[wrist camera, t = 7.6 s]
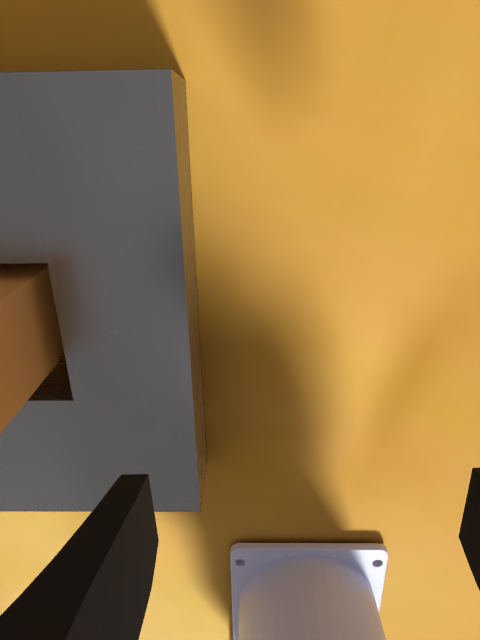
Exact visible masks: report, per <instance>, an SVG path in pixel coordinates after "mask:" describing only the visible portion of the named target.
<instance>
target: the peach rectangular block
mask: <svg viewBox="0 0 480 640" xmlns="http://www.w3.org/2000/svg"><path fill="white" fill-rule="evenodd" d="M64 355H65V354H64V348H63V343H62V338H61V333H60V327H59V322H58V317H57V312H56V306H55V301H54V296H53V291H52V285H51V280H50V275H49V269H48V264H47V263H19V264H0V434H1V432H2V431H3V430H4V429H5V427H6V426H7V425H8V424H9V423H10V421H11V420H12V419H13V418H14V416H15V415H16V414H17V413H18V412H19V410H20V409H21V408H22V407H23V405H24V404H25V403H26V402H27V400H28V399H29V398H30V397H31V396H32V394H33V393H34V392H35V391H36V389H37V388H38V387H39V386H40V384H41V383H42V382H43V381H44V380H45V378H46V377H47V376H48V375H49V373H50V372H51V371H52V370H53V368H54V367H55V366H56V365H57V364H58V362H59V361H60V360H61V359H62V357H63V356H64Z"/></svg>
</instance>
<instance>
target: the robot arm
mask: <svg viewBox="0 0 480 640" xmlns="http://www.w3.org/2000/svg"><path fill="white" fill-rule="evenodd" d="M459 538H460V541H461V544H462V547H463V549H464V552H465V555H466V558H467V560H468V563H469V566H470V568H471V571H472V573H473V576H474V578H475V581H476V583H477V586H478V588H479V590H480V468H473V469H472V474H471V479H470V484H469V489H468V494H467V499H466V504H465V508H464V513H463V518H462V523H461V528H460V533H459ZM157 547H158V534H157V528H156V521H155V514H154V507H153V501H152V494H151V487H150V481H149V474H122V475H121V476H120V477H119V478H118V479H117V480H116V481H115V483H114V484H113V485H112V486H111V488H110V489H109V490H108V492H107V493H106V494H105V496H104V497H103V498H102V500H101V501H100V502H99V503H98V505H97V506H96V507H95V509H94V510H93V511H92V512H91V514H90V515H89V516H88V517H87V519H86V520H85V521H84V522H83V524H82V525H81V526H80V527H79V529H78V530H77V531H76V532H75V533H74V535H73V536H72V537H71V538H70V539H69V541H68V542H67V543H66V544H65V545H64V547H63V548H62V549H61V550H60V551H59V553H58V554H57V555H56V556H55V557H54V558H53V560H52V561H51V562H50V563H49V564H48V565H47V566H46V567H45V568H44V570H43V571H42V572H41V573H40V574H39V575H38V576H37V577H36V578H35V579H34V581H33V582H32V583H31V584H30V585H29V586H28V587H27V588H26V589H25V590H24V592H23V593H22V594H21V595H20V596H19V597H18V598H17V599H16V600H15V601H14V602H13V603H12V604H11V605H10V606H9V607H8V608H7V609H6V610H5V611H4V613H3V614H2V615H1V616H0V640H138V639H139V635H140V631H141V627H142V623H143V619H144V616H145V612H146V608H147V604H148V600H149V596H150V592H151V587H152V581H153V575H154V568H155V562H156V554H157ZM239 559H242V560H239ZM387 561H388V551H387V548H386V547H385V545H383V544H379V543H236V544H234V545H233V546H232V547H231V550H230V562H231V591H232V621H233V640H386V637H385V634H384V630H383V626H382V623H381V619H380V615H379V611H380V605H381V599H382V593H383V586H384V580H385V574H386V567H387Z"/></svg>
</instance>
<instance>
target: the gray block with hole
mask: <svg viewBox="0 0 480 640" xmlns="http://www.w3.org/2000/svg"><path fill="white" fill-rule="evenodd" d="M19 263H47V264H48V269H49V275H50V280H51V285H52V291H53V296H54V301H55V306H56V312H57V317H58V322H59V327H60V333H61V338H62V343H63V348H64V354H65V359H66V362H58V364H57V365H56V366H55V367H54V368H53V370H52V371H51V372H50V373H49V375H48V376H47V377H46V378H45V380H44V381H43V382H42V383H41V384H40V386H39V387H38V388H37V389H36V391H35V392H34V393H33V394H32V396H31V397H30V398H29V399H28V400H27V402H26V403H25V404H24V405H23V407H22V408H21V409H20V410H19V412H18V413H17V414H16V415H15V416H14V418H13V419H12V420H11V421H10V423H9V424H8V425H7V426H6V427H5V429H4V430H3V431H2V432H1V434H0V511H93V510H94V509H95V507H96V506H97V505H98V503H99V502H100V501H101V500H102V498H103V497H104V496H105V494H106V493H107V492H108V490H109V489H110V488H111V486H112V485H113V484H114V483H115V481H116V480H117V479H118V478H119V477H120V476H121V475H122V474H149V481H150V487H151V494H152V501H153V507H154V512H201V504H202V496H203V488H204V480H205V472H206V464H207V458H206V440H205V422H204V405H203V387H202V369H201V352H200V334H199V316H198V299H197V281H196V263H195V245H194V228H193V210H192V192H191V175H190V157H189V139H188V122H187V104H186V86H185V79H183V78H182V77H181V76H179V75H178V74H177V73H175V72H174V71H173V70H171V69H150V70H101V71H51V72H2V73H0V264H19Z"/></svg>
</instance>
